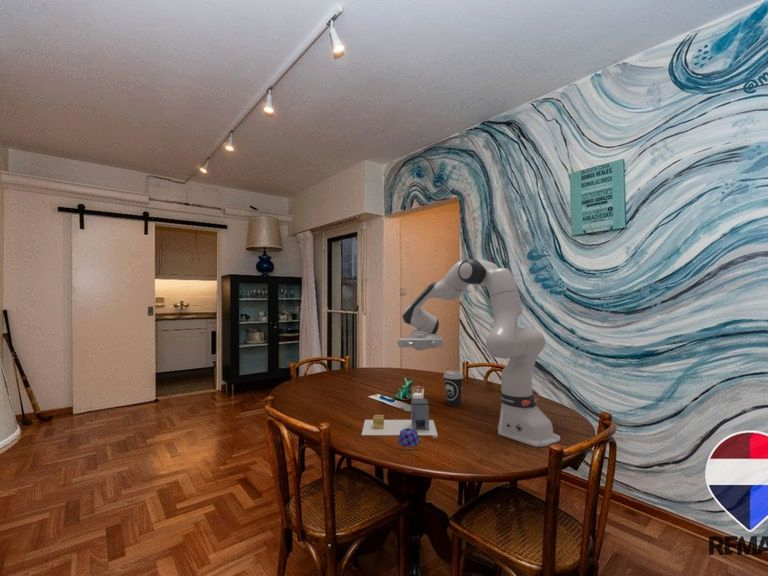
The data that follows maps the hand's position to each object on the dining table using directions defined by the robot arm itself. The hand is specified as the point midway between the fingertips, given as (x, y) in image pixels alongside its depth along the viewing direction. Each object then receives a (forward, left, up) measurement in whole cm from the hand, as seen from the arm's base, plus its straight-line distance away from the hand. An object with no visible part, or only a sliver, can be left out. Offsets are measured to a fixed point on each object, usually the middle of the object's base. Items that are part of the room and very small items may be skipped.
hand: (421, 344), depth 155 cm
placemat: (-8, +16, -31) cm, 36 cm away
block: (-4, +23, -30) cm, 38 cm away
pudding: (-22, +21, -31) cm, 43 cm away
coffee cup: (+7, -23, -31) cm, 39 cm away
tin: (-12, +9, -30) cm, 33 cm away
